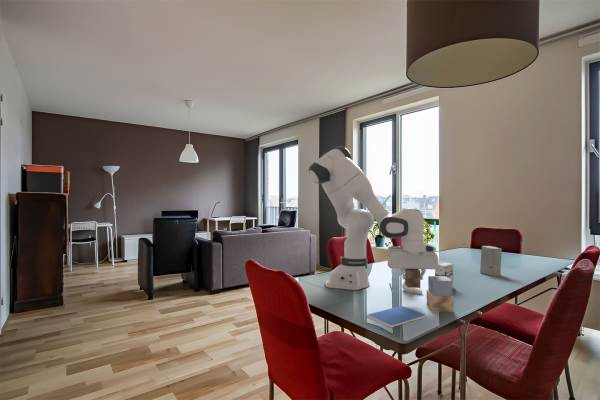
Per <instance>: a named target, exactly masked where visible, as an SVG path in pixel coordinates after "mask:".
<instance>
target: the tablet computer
mask: <svg viewBox="0 0 600 400" xmlns="http://www.w3.org/2000/svg"><path fill="white" fill-rule="evenodd" d="M366 318H368V319H371V320H372V321H374V322H377V323H379V324H381V325H384V326H386V327H388V328H394V327H398V326H401V325H405V324H408V323H412V322H413V321H419V320H422V319H424V318H428V316H427V314H425V313H421V312H419V311H416V310H413V309H412V308H408V307H406V306H404V305H399V306H398V305H397V306H395V307H392V308H388V309H387V308H386V309H384V310H380V311H376V312H373V313H367V315H366Z"/></svg>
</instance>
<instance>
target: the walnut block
mask: <svg viewBox="0 0 600 400" xmlns="http://www.w3.org/2000/svg"><path fill="white" fill-rule="evenodd" d="M404 274H406V275H407V279H404V282H405V285H406V286H407V287H414V288H420V289H421V280H420V274H421V269H404Z"/></svg>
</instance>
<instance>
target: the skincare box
mask: <svg viewBox="0 0 600 400" xmlns="http://www.w3.org/2000/svg"><path fill="white" fill-rule="evenodd" d="M502 252H503V248H501V247H497V246H492V245H482V246H481V252H480V253H481V254H480V264H479V266H480V268H479V269H480V270H479V273H480V274H484V275H488V276H491V277H493V276H494V277H496V276H497V277H498V276H501V274H502V273H501V270H502V269H501V268H502V255H503V253H502Z"/></svg>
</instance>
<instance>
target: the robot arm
mask: <svg viewBox="0 0 600 400" xmlns="http://www.w3.org/2000/svg"><path fill="white" fill-rule="evenodd" d="M308 174H309V177H310V179H311V180H312V181H313V182H314V183H316V184H319V185H321V187H322V189H323V190H324V192H325V194H326V195H327V197H328V199H329V201H330V202H331V204H332V206H333V207H334V210H335V213H336V216H337V222H338V224H339V226H341V227H342V228H344V229H347V230H348V234H347V237H346V239H345V240H344V242H343V243H344V247H343V250H344V255H343V256H342V255H341V256H340V257H339V261H340V264H339V265H338V266H336V267H335V268H334V269H332V270H331V272H330V275H329V279H326V280H325V284H324V285H325V286H326V288H329V289H330V288H331V289H341V290H354V291H359V290H361V289H366V288H369V287H370V281H369V277H368V271H367V270H368V257H367V243H368V241H367V240H368V235H369V232H370V231H371V229H372V228H373V226H374V224H375V220H376V223H377V227H378V230H379V231H380V233H381V234H382V235H383V236H384V237H385V238H388V239H396V238H401V245H397V246H396V245H391V246H389V247H388V248H387V250H386V252H387V253H386V254H387V256H388V257H387V267H389V269H399V271H400V273H401V278H402V280H405V279H407V275H406V274H405V269H419V270H420V281H422V280H424V278H423V277H424V276H425V273H426V272H427V271H426V270H435V269H437V268H438V267H439V263H440V262H439V257H438V254H437V247H436V246H434V245H432V244H429V243H427V242H425V239H424V238H425V237H424V230H425V225H424V224H425V223H424V222H425V221H424V220H425V219H424V214H423V212H422V211H421V210H420V209H417V208H413V207H404V208H402V209H401V210H399V211H398V212H394V213H393V214H392V213H390V212H389V211H388V210H387V209H386V208H385V207H384V205H382V203H381V202H380V201H379V199H378V198H377V196H376V195H375V193H374V190H373V187H372V184H371V182H370V180H369V178H368V177H367V175H366V174H365V173H364V171H363V170H362V168H360V167H359V166H358V165H357V164H356V163H355V162H354V161H353V160H352V154H351V152H350V150H349V149H347V148H346V146H342V145H339V146H336V147H334V148H333V149H331V150H329V151H328V152H326V153H324V154H323V155H322V156H320V157H319V158H318V159H317V160H316V161H315V162H313V163H311V165H309V168H308ZM353 199H354V200H356V201H358V202H359V203H361V204H362V206H365V208H366V209H367V210H366V209H362V208H356V206H355V204H354V201H353Z"/></svg>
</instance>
